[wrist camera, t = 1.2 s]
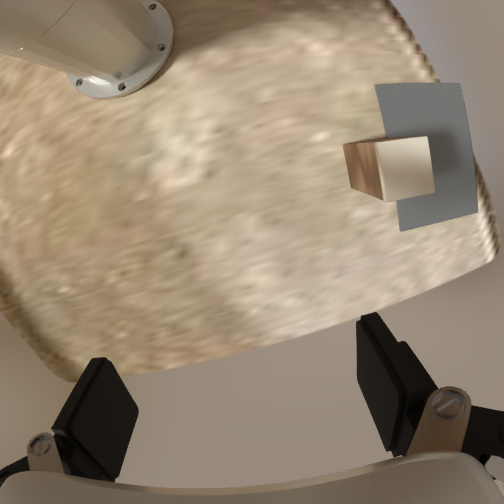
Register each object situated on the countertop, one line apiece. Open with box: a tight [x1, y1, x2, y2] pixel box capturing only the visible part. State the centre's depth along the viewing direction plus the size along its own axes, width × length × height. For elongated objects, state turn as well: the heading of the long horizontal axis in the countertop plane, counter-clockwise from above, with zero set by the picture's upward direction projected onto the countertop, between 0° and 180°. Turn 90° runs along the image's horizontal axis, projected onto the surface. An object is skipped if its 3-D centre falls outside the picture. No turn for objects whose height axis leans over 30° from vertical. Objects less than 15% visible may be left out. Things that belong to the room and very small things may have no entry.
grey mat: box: [375, 83, 478, 232], centre depth 28 cm, size 16×12×1 cm
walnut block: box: [343, 136, 435, 202], centre depth 24 cm, size 4×4×9 cm
